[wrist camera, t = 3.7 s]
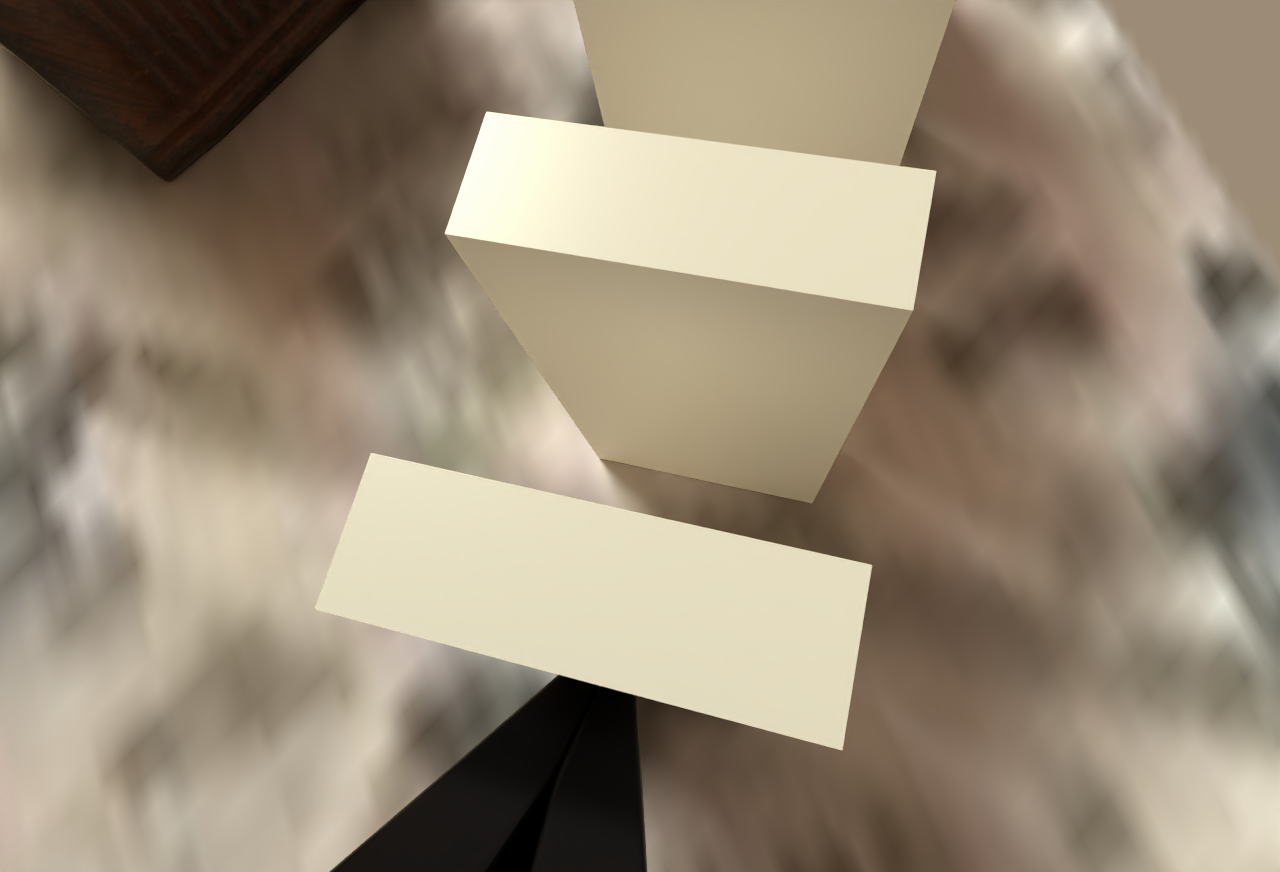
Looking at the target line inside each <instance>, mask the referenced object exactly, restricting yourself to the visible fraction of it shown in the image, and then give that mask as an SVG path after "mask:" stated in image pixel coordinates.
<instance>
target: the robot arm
mask: <svg viewBox="0 0 1280 872" xmlns="http://www.w3.org/2000/svg"><path fill="white" fill-rule="evenodd" d="M330 872H647V859H646V841H645V823H644V805H643V787H642V769H641V751H640V733H639V715H638V699H637V695H633V694H629V693H625V692H622V691H618V690H614V689H610V688H607V687H603V686H599V685H595V684H592V683H588V682H584V681H581V680H577V679H573V678H569V677H566V676H562V675H558V676H557V677H555V678H554V679H553V680H552V681H551V682H550V683H548V684H547V685H546V686H545V687H544V688H543V689H542V690H540V691H539V692H538V693H537V694H536V695H535V696H533V697H532V698H531V699H530V700H529V701H528V702H526V703H525V704H524V705H523V706H522V707H521V708H519V709H518V710H517V711H516V712H515V713H514V714H512V715H511V716H510V717H509V718H508V719H507V720H505V721H504V722H503V723H502V724H501V725H500V726H499V727H497V728H496V729H495V730H494V731H493V732H492V733H490V734H489V735H488V736H487V737H486V738H485V739H483V740H482V741H481V742H480V743H479V744H478V745H476V746H475V747H474V748H473V749H472V750H471V751H469V752H468V753H467V754H466V755H465V756H464V757H462V758H461V759H460V760H459V761H458V762H457V763H456V764H454V765H453V766H452V767H451V768H450V769H449V770H447V771H446V772H445V773H444V774H443V775H442V776H440V777H439V778H438V779H437V780H436V781H435V782H433V783H432V784H431V785H430V786H429V787H428V788H426V789H425V790H424V791H423V792H422V793H421V794H419V795H418V796H417V797H416V798H415V799H414V800H413V801H411V802H410V803H409V804H408V805H407V806H406V807H404V808H403V809H402V810H401V811H400V812H399V813H397V814H396V815H395V816H394V817H393V818H392V819H390V820H389V821H388V822H387V823H386V824H385V825H383V826H382V827H381V828H380V829H379V830H378V831H376V832H375V833H374V834H373V835H372V836H371V837H370V838H368V839H367V840H366V841H365V842H364V843H363V844H361V845H360V846H359V847H358V848H357V849H356V850H354V851H353V852H352V853H351V854H350V855H349V856H347V857H346V858H345V859H344V860H343V861H342V862H340V863H339V864H338V865H337V866H336V867H335V868H333V869H332V870H331V871H330Z"/></svg>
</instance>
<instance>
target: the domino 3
mask: <svg viewBox="0 0 1280 872" xmlns="http://www.w3.org/2000/svg"><path fill="white" fill-rule="evenodd" d="M871 570H872V565H870V564H866V563H861V562H857V561H852V560H848V559H843V558H839V557H834V556H830V555H825V554H821V553H816V552H812V551H808V550H803V549H799V548H794V547H790V546H785V545H781V544H776V543H772V542H767V541H763V540H758V539H754V538H749V537H745V536H741V535H736V534H732V533H727V532H723V531H718V530H714V529H709V528H705V527H700V526H696V525H691V524H687V523H682V522H678V521H674V520H669V519H665V518H660V517H656V516H651V515H647V514H642V513H638V512H633V511H629V510H624V509H620V508H615V507H611V506H607V505H602V504H598V503H593V502H589V501H584V500H580V499H575V498H571V497H566V496H562V495H557V494H553V493H548V492H544V491H540V490H535V489H531V488H526V487H522V486H517V485H513V484H508V483H504V482H499V481H495V480H490V479H486V478H481V477H477V476H473V475H468V474H464V473H459V472H455V471H450V470H446V469H441V468H437V467H432V466H428V465H423V464H419V463H414V462H410V461H406V460H401V459H397V458H392V457H388V456H383V455H379V454H374V453H371V455H370V457H369V460H368V463H367V466H366V468H365V471H364V474H363V477H362V480H361V482H360V485H359V488H358V491H357V493H356V496H355V499H354V502H353V504H352V507H351V510H350V513H349V515H348V518H347V521H346V524H345V527H344V529H343V532H342V535H341V538H340V540H339V543H338V546H337V549H336V551H335V554H334V557H333V560H332V562H331V565H330V568H329V571H328V573H327V576H326V579H325V582H324V585H323V587H322V590H321V593H320V596H319V598H318V601H317V604H316V607H315V610H319V611H323V612H327V613H330V614H334V615H338V616H342V617H345V618H349V619H353V620H356V621H360V622H364V623H368V624H371V625H375V626H379V627H383V628H386V629H390V630H394V631H398V632H401V633H405V634H409V635H412V636H416V637H420V638H424V639H427V640H431V641H435V642H439V643H442V644H446V645H450V646H454V647H457V648H461V649H465V650H468V651H472V652H476V653H480V654H483V655H487V656H491V657H495V658H498V659H502V660H506V661H510V662H513V663H517V664H521V665H525V666H528V667H532V668H536V669H539V670H543V671H547V672H551V673H554V674H558V675H562V676H566V677H569V678H573V679H577V680H581V681H584V682H588V683H592V684H595V685H599V686H603V687H607V688H610V689H614V690H618V691H622V692H625V693H629V694H633V695H637V696H640V697H644V698H648V699H652V700H655V701H659V702H663V703H666V704H670V705H674V706H678V707H681V708H685V709H689V710H693V711H696V712H700V713H704V714H708V715H711V716H715V717H719V718H722V719H726V720H730V721H734V722H737V723H741V724H745V725H749V726H752V727H756V728H760V729H764V730H767V731H771V732H775V733H779V734H782V735H786V736H790V737H793V738H797V739H801V740H805V741H808V742H812V743H816V744H820V745H823V746H827V747H831V748H835V749H838V750H843V744H844V738H845V732H846V725H847V719H848V713H849V707H850V700H851V694H852V688H853V682H854V676H855V669H856V663H857V657H858V651H859V644H860V638H861V632H862V626H863V619H864V613H865V607H866V601H867V594H868V588H869V582H870V576H871Z"/></svg>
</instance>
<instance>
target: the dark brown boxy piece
mask: <svg viewBox="0 0 1280 872" xmlns="http://www.w3.org/2000/svg"><path fill="white" fill-rule="evenodd" d="M363 1H364V0H0V45H1V46H3V47H4V48H5V49H6V50H7V51H9V52H10V53H11V54H12V55H14V56H15V57H16V58H18V59H19V60H20V61H21V62H23V63H24V64H25V65H26V66H28V67H29V68H30V69H31V70H32V71H33V72H34V73H35V74H36V75H38V76H39V77H40V78H41V79H42V80H43V81H44V82H45V83H46V84H48V85H49V86H50V87H51V88H52V89H53V90H55V91H56V92H57V93H58V94H59V95H60V96H62V97H63V98H64V99H65V100H66V101H67V102H69V103H70V104H71V105H72V106H73V107H74V108H76V109H77V110H78V111H79V112H80V113H81V114H83V115H84V116H85V117H86V118H87V119H89V120H90V121H91V122H93V123H94V124H95V125H96V126H98V127H99V128H100V129H101V130H103V131H104V132H105V133H107V134H108V135H109V136H110V137H112V138H113V139H114V140H115V141H117V142H118V143H119V144H121V145H122V146H123V147H124V148H126V149H127V150H128V151H130V152H131V153H132V154H133V155H134V156H136V157H137V158H138V159H139V160H140V161H141V162H143V163H144V164H145V165H146V166H147V167H148V168H150V169H151V170H152V171H153V172H154V173H155V174H156V175H158V176H159V177H161V178H162V179H164V180H166V181H168V182H170V181H171V180H172V179H173V178H175V177H176V176H177V175H178V174H179V173H181V172H182V171H183V170H184V169H186V168H187V167H188V166H189V165H190V164H192V163H193V162H194V161H195V160H196V159H198V158H199V157H200V156H201V155H202V154H204V153H205V152H206V151H207V150H209V149H210V148H211V147H212V146H213V145H215V144H216V143H217V142H218V141H219V140H221V139H222V138H223V137H224V136H225V135H226V134H227V133H228V132H229V131H230V130H231V129H232V128H233V127H234V126H236V125H237V124H238V123H239V122H240V121H241V120H242V119H243V118H244V117H245V116H246V115H247V114H248V113H249V112H250V111H251V110H252V109H253V108H254V107H255V106H256V105H257V104H258V103H259V102H260V101H261V100H262V99H263V98H264V97H265V96H267V95H268V94H269V93H270V92H271V91H272V90H273V89H274V88H275V87H276V86H277V85H278V84H279V83H280V82H281V81H282V80H283V79H284V78H285V77H286V76H287V75H288V74H289V73H290V72H291V71H292V70H293V69H294V68H295V67H297V66H298V65H299V64H300V63H301V62H302V61H303V60H304V59H305V58H306V57H307V56H308V55H309V54H310V53H311V52H312V51H313V50H314V49H315V48H316V47H317V46H318V45H319V44H320V43H321V42H322V41H323V40H324V39H325V38H326V37H327V36H328V35H330V34H331V33H332V32H333V31H334V30H335V29H336V28H337V27H338V26H339V25H340V24H341V23H342V22H343V21H344V20H345V19H346V18H347V17H348V16H349V15H350V14H351V13H352V12H353V11H354V10H355V9H356V8H357V7H358V6H359V5H360V4H361V3H362V2H363Z"/></svg>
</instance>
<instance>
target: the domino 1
mask: <svg viewBox="0 0 1280 872" xmlns="http://www.w3.org/2000/svg"><path fill="white" fill-rule="evenodd" d="M955 1H956V0H574V4H575V8H576V12H577V16H578V20H579V24H580V28H581V32H582V36H583V40H584V45H585V49H586V53H587V57H588V61H589V65H590V69H591V73H592V77H593V81H594V85H595V89H596V93H597V97H598V102H599V106H600V110H601V114H602V118H603V122H604V126H605V127H607V128H615V129H622V130H630V131H638V132H645V133H653V134H660V135H668V136H676V137H683V138H691V139H698V140H706V141H713V142H721V143H729V144H736V145H744V146H751V147H759V148H767V149H774V150H782V151H789V152H797V153H804V154H812V155H820V156H827V157H835V158H842V159H850V160H857V161H865V162H873V163H880V164H888V165H895V166H900V163H901V160H902V157H903V154H904V151H905V148H906V146H907V143H908V140H909V137H910V134H911V131H912V128H913V125H914V122H915V119H916V116H917V113H918V110H919V107H920V104H921V101H922V98H923V95H924V92H925V89H926V86H927V84H928V81H929V78H930V75H931V72H932V69H933V66H934V63H935V60H936V57H937V54H938V51H939V48H940V45H941V42H942V39H943V36H944V33H945V30H946V27H947V24H948V22H949V19H950V16H951V13H952V10H953V7H954V4H955Z"/></svg>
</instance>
